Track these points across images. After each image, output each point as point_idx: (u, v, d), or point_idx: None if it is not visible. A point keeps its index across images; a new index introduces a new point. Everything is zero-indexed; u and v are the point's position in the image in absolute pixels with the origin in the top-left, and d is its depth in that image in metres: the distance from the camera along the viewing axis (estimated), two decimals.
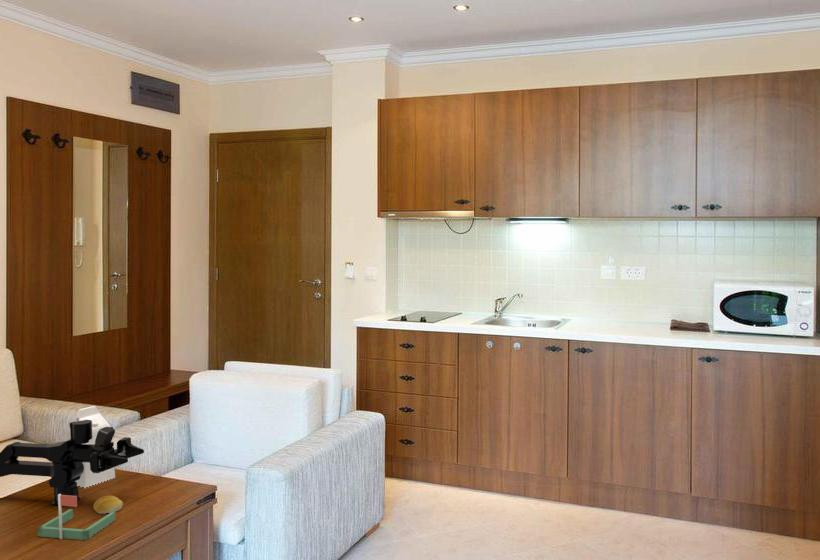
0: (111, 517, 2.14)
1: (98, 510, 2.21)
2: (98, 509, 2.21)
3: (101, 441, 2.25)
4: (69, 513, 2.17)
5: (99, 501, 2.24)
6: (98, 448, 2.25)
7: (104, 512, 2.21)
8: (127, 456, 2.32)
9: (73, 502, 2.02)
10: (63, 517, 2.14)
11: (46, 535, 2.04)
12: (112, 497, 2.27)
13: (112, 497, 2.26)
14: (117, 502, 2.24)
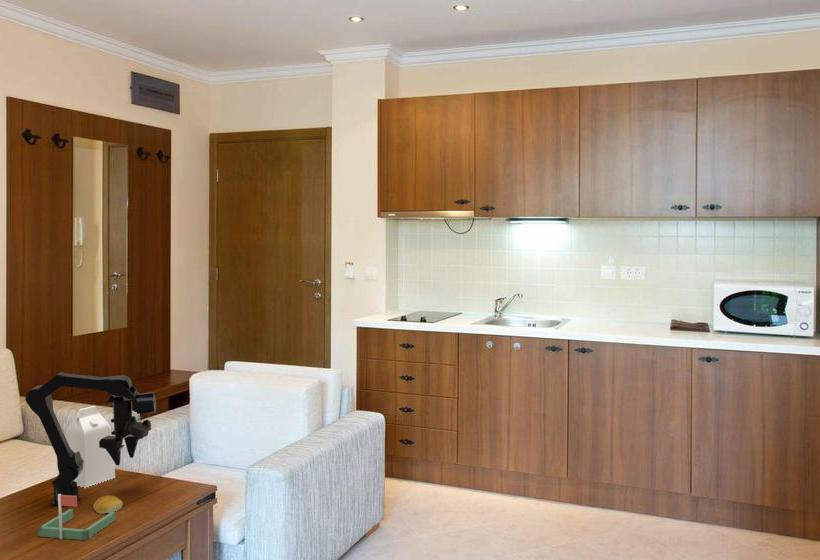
0: (111, 517, 2.14)
1: (98, 510, 2.21)
2: (98, 509, 2.21)
3: (132, 433, 2.30)
4: (69, 513, 2.17)
5: (99, 501, 2.24)
6: (125, 431, 2.30)
7: (104, 512, 2.21)
8: (125, 439, 2.39)
9: (73, 502, 2.02)
10: (63, 517, 2.14)
11: (46, 535, 2.04)
12: (112, 497, 2.27)
13: (111, 497, 2.26)
14: (117, 502, 2.24)
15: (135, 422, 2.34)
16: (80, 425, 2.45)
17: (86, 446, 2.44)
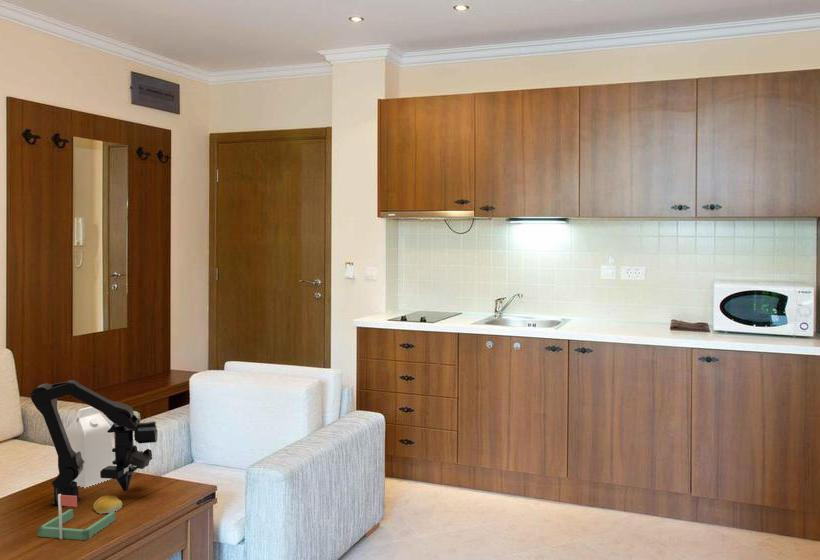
0: (111, 517, 2.14)
1: (98, 510, 2.21)
2: (98, 509, 2.21)
3: (134, 463, 2.31)
4: (69, 513, 2.17)
5: (99, 501, 2.24)
6: (127, 461, 2.31)
7: (104, 512, 2.21)
8: None
9: (73, 502, 2.02)
10: (63, 517, 2.14)
11: (46, 535, 2.04)
12: (112, 497, 2.27)
13: (111, 497, 2.26)
14: (117, 502, 2.24)
15: (136, 452, 2.34)
16: (80, 425, 2.45)
17: (86, 446, 2.44)
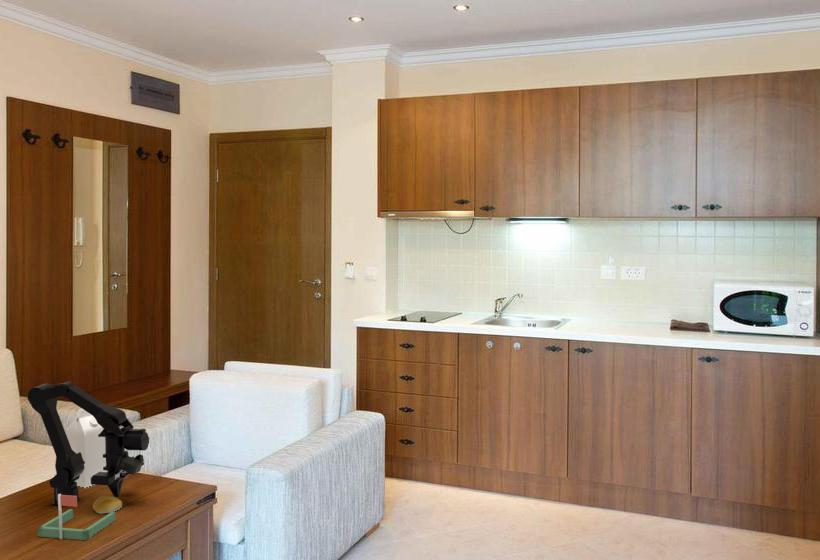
0: (111, 517, 2.14)
1: (97, 510, 2.21)
2: (97, 509, 2.21)
3: (125, 469, 2.26)
4: (69, 513, 2.17)
5: (98, 501, 2.24)
6: (118, 466, 2.26)
7: (104, 512, 2.21)
8: None
9: (73, 502, 2.02)
10: (63, 517, 2.14)
11: (46, 535, 2.04)
12: (111, 497, 2.27)
13: (111, 497, 2.26)
14: (116, 502, 2.24)
15: (128, 457, 2.29)
16: (80, 425, 2.45)
17: (86, 446, 2.44)
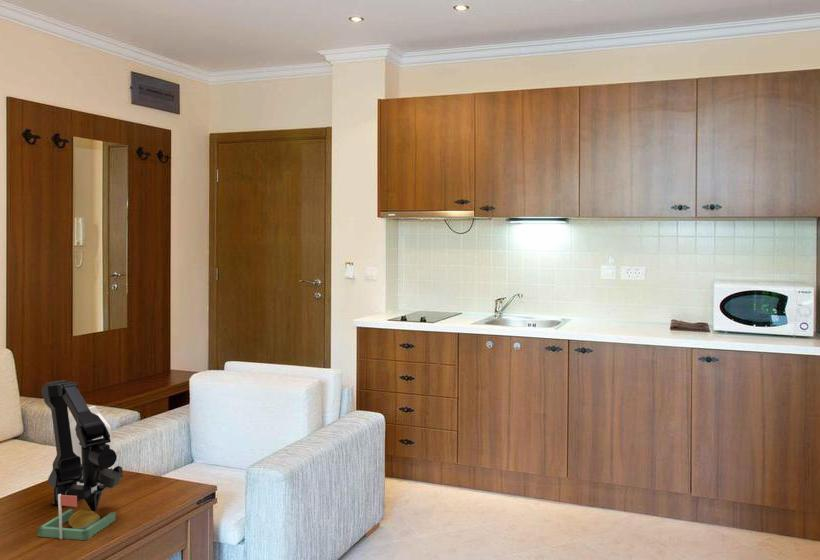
0: (111, 517, 2.14)
1: (74, 525, 2.09)
2: (74, 524, 2.09)
3: (102, 481, 2.14)
4: (69, 513, 2.17)
5: (75, 516, 2.12)
6: (95, 479, 2.14)
7: (80, 527, 2.09)
8: None
9: (73, 502, 2.02)
10: (63, 517, 2.14)
11: (46, 535, 2.04)
12: (88, 511, 2.15)
13: (88, 511, 2.15)
14: (94, 516, 2.12)
15: (105, 469, 2.18)
16: None
17: None
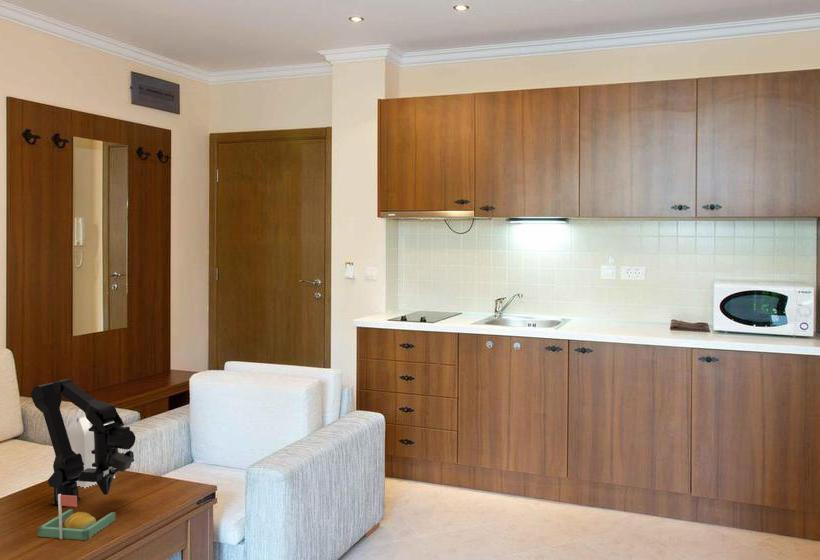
0: (111, 517, 2.14)
1: (70, 528, 2.07)
2: (70, 527, 2.07)
3: (114, 465, 2.20)
4: (69, 513, 2.17)
5: (70, 518, 2.10)
6: (107, 463, 2.20)
7: None
8: None
9: (73, 502, 2.02)
10: (63, 517, 2.14)
11: (46, 535, 2.04)
12: (84, 514, 2.13)
13: (84, 514, 2.13)
14: (90, 519, 2.11)
15: (117, 453, 2.23)
16: (80, 425, 2.45)
17: (86, 446, 2.44)
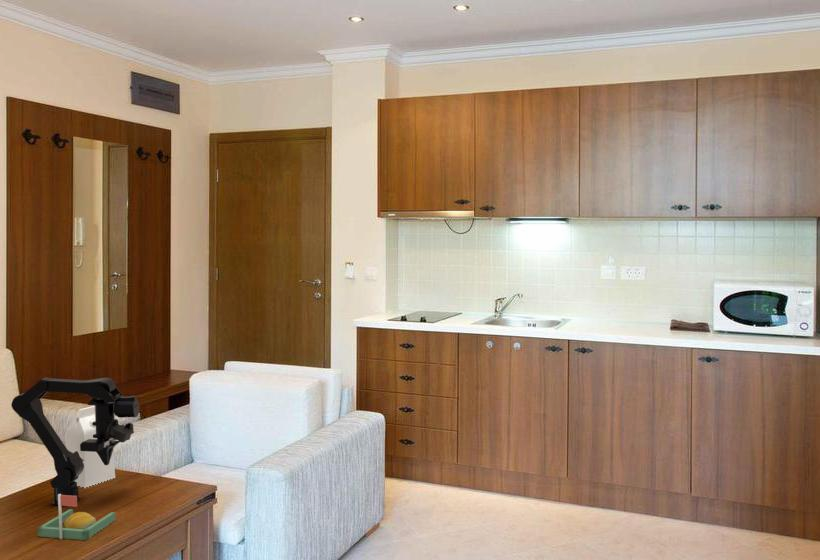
0: (111, 517, 2.14)
1: (70, 528, 2.07)
2: (70, 527, 2.07)
3: (114, 436, 2.27)
4: (69, 513, 2.17)
5: (70, 518, 2.10)
6: (107, 434, 2.27)
7: None
8: None
9: (73, 502, 2.02)
10: (63, 517, 2.14)
11: (46, 535, 2.04)
12: (84, 514, 2.13)
13: (84, 514, 2.13)
14: (90, 519, 2.11)
15: (117, 425, 2.31)
16: (80, 425, 2.45)
17: None
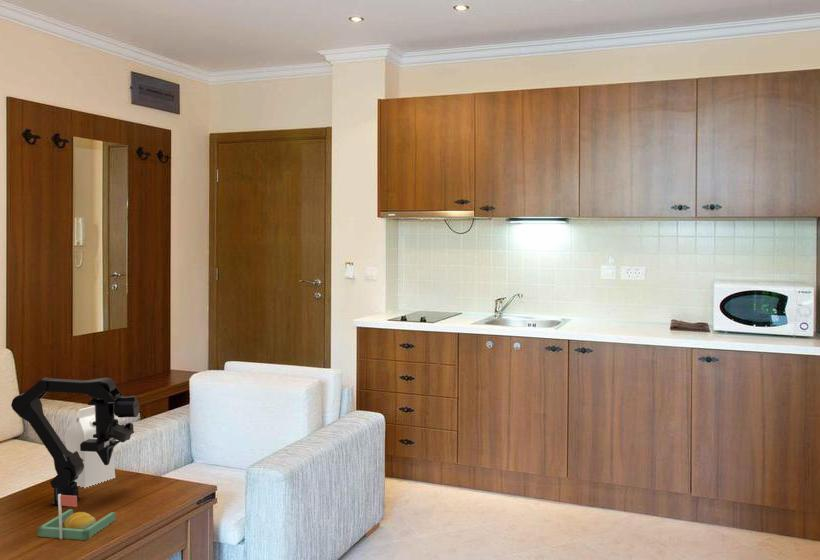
0: (111, 517, 2.14)
1: None
2: (69, 527, 2.07)
3: (114, 436, 2.27)
4: (69, 513, 2.17)
5: (70, 518, 2.10)
6: (107, 434, 2.27)
7: None
8: None
9: (73, 502, 2.02)
10: (63, 517, 2.14)
11: (46, 535, 2.04)
12: (84, 514, 2.13)
13: (83, 514, 2.13)
14: (90, 519, 2.11)
15: (117, 425, 2.31)
16: (80, 425, 2.45)
17: None
